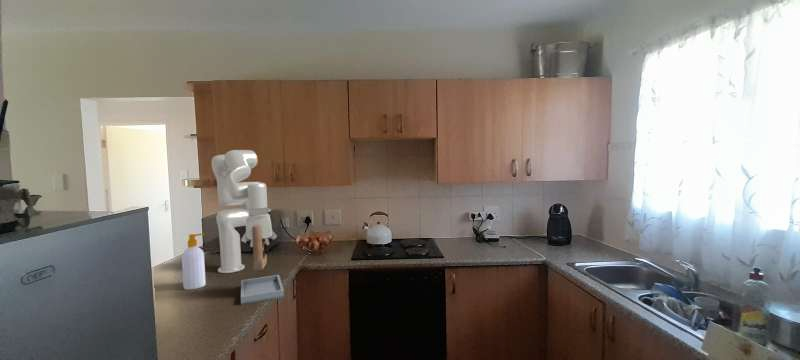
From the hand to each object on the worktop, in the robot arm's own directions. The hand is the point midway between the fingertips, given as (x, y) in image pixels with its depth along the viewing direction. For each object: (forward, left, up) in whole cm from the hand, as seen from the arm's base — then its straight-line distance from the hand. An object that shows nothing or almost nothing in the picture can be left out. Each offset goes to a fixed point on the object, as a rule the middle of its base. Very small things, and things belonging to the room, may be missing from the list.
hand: (260, 254), depth 147 cm
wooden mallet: (0, 0, -6) cm, 6 cm away
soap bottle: (-22, -27, -17) cm, 39 cm away
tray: (0, 0, -16) cm, 16 cm away
